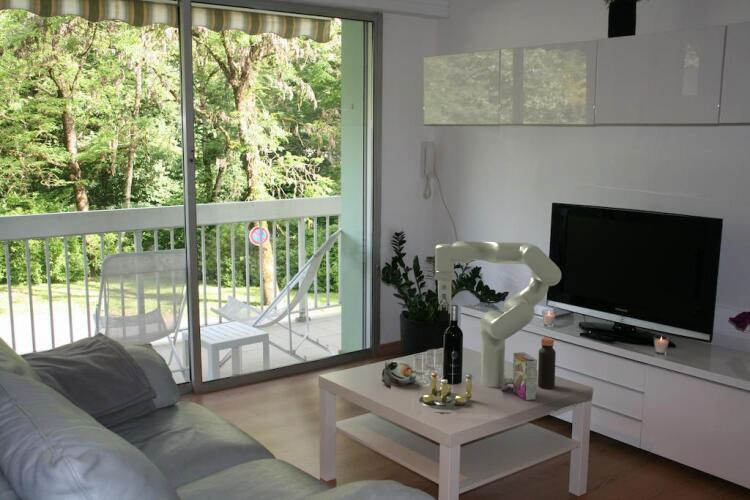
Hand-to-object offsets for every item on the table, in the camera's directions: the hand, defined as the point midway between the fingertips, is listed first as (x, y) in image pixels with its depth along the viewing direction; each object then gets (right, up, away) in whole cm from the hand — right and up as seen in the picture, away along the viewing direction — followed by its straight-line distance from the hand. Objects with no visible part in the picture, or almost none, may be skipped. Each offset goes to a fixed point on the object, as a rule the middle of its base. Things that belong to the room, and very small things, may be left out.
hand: (444, 317), depth 312 cm
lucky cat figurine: (-17, -29, +11) cm, 36 cm away
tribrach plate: (-1, -32, -13) cm, 35 cm away
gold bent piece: (+6, -31, -15) cm, 35 cm away
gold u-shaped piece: (-2, -30, -8) cm, 31 cm away
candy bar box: (+31, -31, -3) cm, 44 cm away
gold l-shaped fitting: (-5, -31, -17) cm, 36 cm away
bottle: (+43, -29, +9) cm, 53 cm away
